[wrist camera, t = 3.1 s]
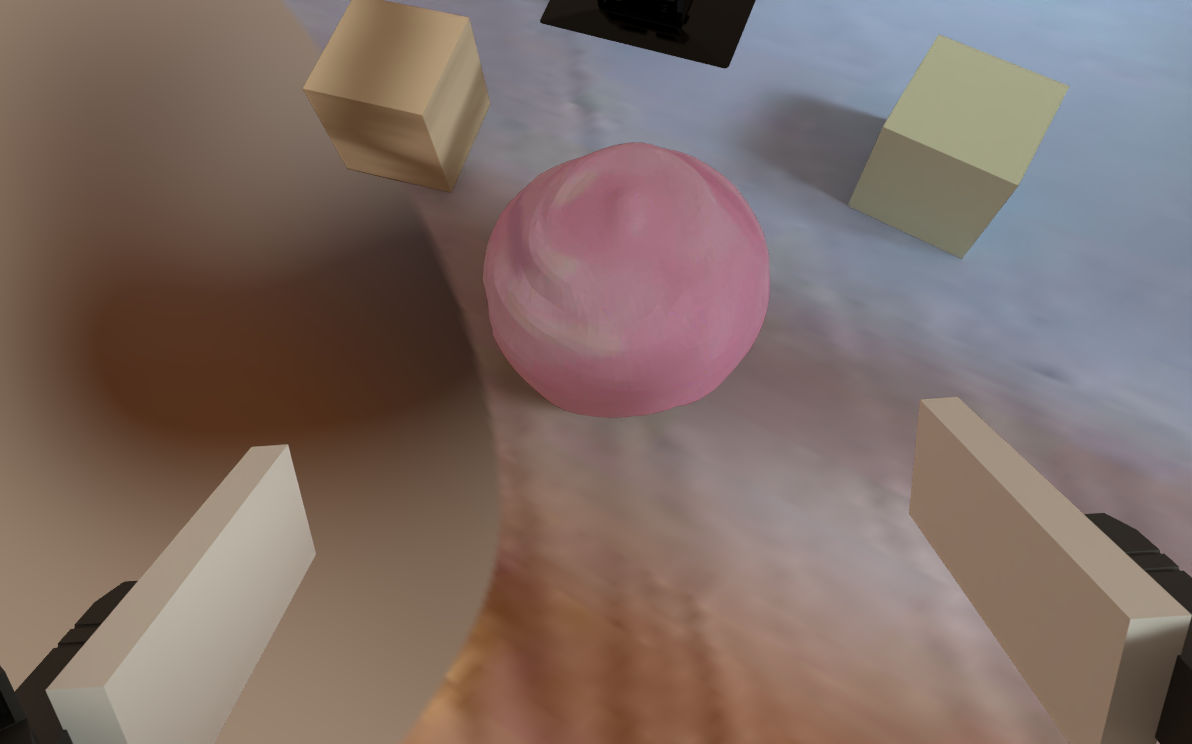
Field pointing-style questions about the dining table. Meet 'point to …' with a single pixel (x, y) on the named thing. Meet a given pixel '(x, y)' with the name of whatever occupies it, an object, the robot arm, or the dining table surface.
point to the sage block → (956, 145)
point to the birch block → (401, 92)
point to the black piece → (659, 24)
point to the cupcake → (627, 281)
